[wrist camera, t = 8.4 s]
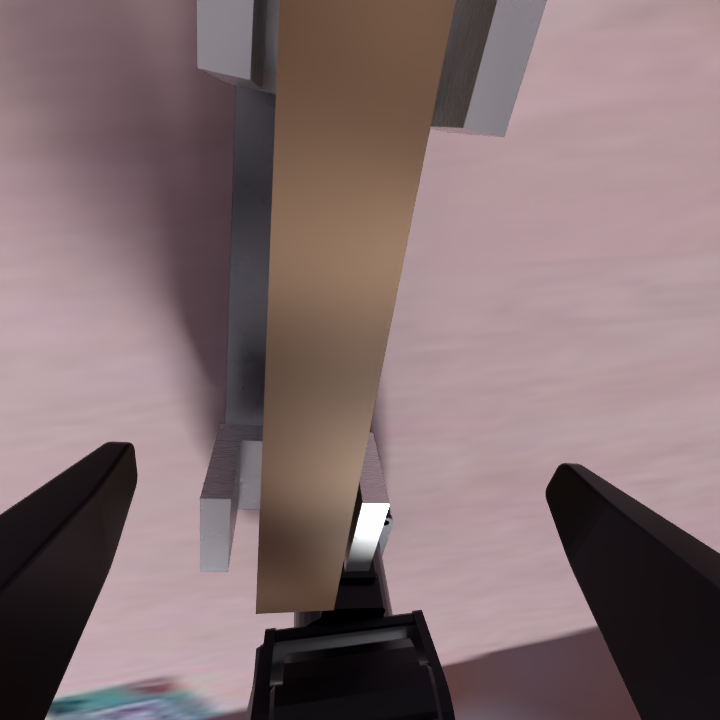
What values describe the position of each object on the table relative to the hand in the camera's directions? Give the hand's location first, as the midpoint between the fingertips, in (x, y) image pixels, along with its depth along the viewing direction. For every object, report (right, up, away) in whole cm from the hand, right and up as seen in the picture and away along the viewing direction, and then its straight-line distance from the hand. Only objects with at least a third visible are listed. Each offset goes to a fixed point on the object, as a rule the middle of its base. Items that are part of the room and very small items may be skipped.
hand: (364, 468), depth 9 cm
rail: (-2, +4, +5) cm, 7 cm away
